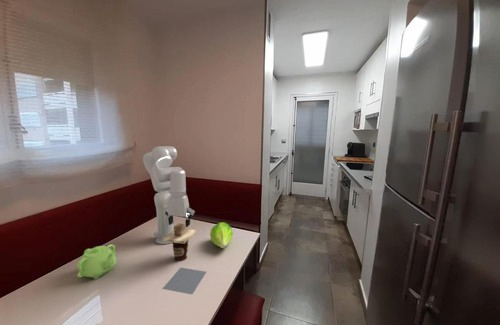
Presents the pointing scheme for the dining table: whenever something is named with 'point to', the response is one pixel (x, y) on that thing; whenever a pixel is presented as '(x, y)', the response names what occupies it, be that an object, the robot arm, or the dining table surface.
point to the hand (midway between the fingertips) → (179, 224)
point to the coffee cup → (180, 251)
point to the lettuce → (221, 234)
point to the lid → (179, 234)
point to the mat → (185, 280)
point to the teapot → (97, 261)
